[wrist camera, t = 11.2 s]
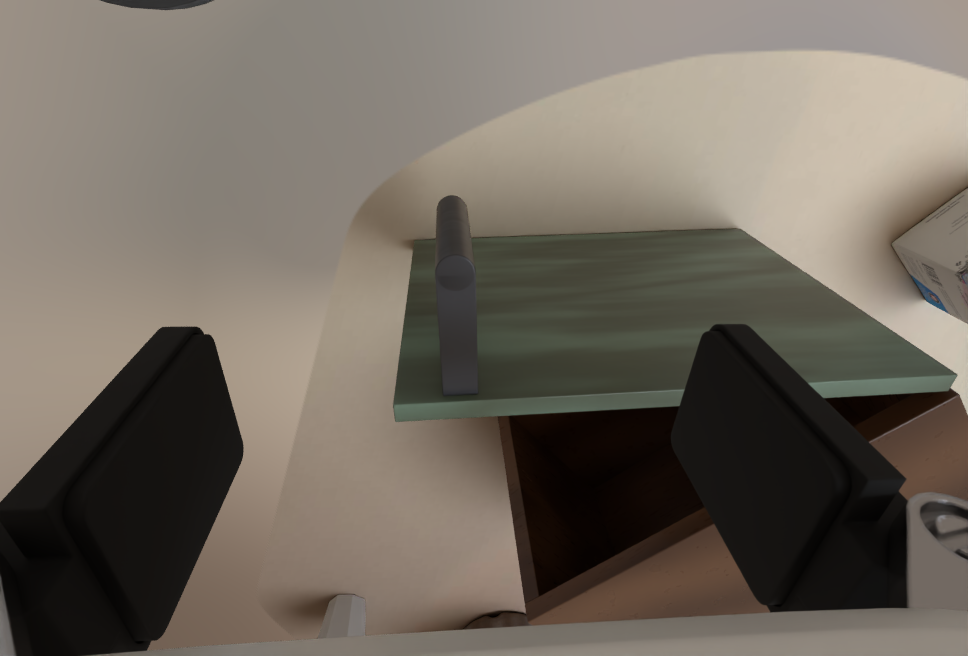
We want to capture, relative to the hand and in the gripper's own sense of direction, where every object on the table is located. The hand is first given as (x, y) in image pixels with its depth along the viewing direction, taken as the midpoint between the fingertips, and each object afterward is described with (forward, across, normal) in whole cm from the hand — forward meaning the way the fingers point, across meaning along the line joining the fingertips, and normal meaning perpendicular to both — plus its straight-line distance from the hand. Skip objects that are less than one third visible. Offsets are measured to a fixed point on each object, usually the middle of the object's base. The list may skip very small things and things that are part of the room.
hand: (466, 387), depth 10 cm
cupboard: (+30, -20, +23) cm, 42 cm away
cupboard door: (+30, -11, +5) cm, 32 cm away
